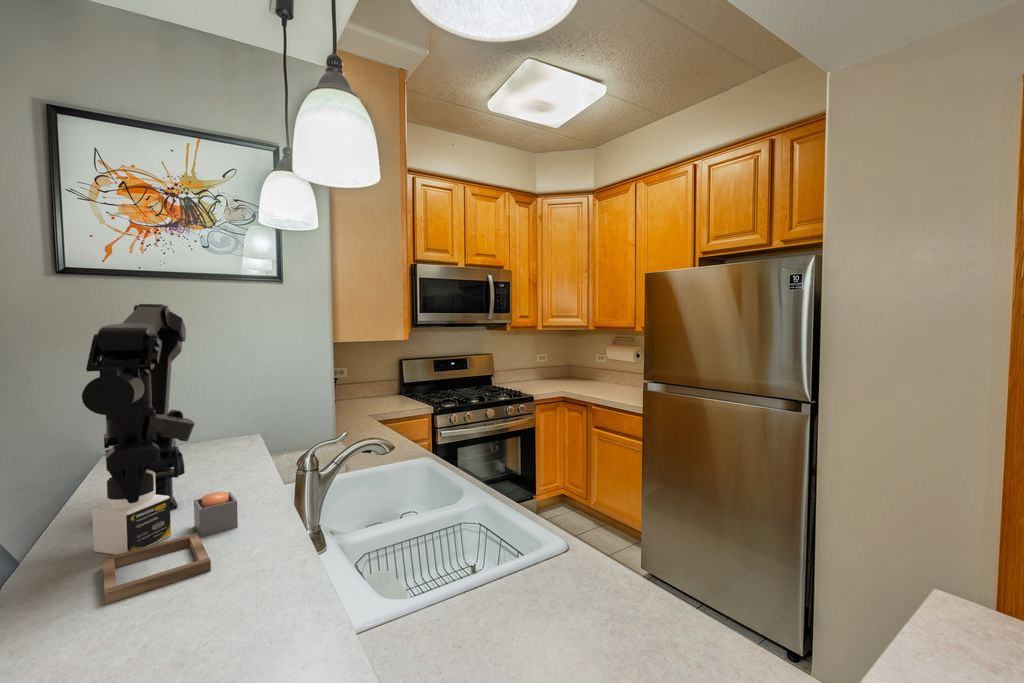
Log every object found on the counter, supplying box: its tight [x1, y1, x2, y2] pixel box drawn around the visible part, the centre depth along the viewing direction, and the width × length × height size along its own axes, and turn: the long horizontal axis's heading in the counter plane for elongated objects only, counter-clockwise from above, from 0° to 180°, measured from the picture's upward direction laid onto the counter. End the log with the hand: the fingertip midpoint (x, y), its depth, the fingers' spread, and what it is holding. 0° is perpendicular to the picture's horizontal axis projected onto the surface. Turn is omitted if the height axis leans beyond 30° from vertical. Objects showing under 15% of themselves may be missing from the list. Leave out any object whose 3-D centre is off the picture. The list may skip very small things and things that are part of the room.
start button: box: [201, 491, 229, 508], centre depth 79 cm, size 4×4×2 cm
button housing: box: [193, 491, 239, 538], centre depth 79 cm, size 6×6×5 cm
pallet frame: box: [102, 532, 212, 605], centre depth 65 cm, size 12×12×2 cm
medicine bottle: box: [91, 470, 172, 555], centre depth 72 cm, size 7×7×12 cm
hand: (132, 496), depth 72 cm, fingers closed on medicine bottle, 6 cm apart
